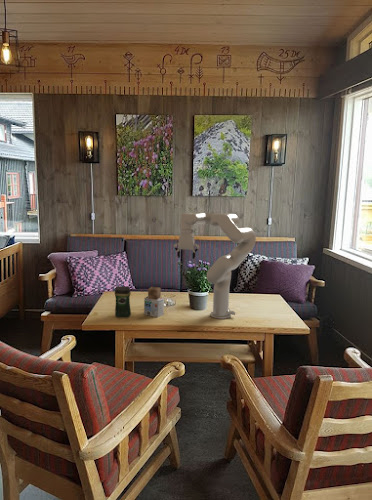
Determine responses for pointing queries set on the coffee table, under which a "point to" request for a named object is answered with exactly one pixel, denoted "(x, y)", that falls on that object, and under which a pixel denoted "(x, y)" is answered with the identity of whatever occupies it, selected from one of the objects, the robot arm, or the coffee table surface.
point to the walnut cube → (154, 293)
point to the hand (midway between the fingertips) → (186, 258)
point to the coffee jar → (122, 301)
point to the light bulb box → (154, 307)
